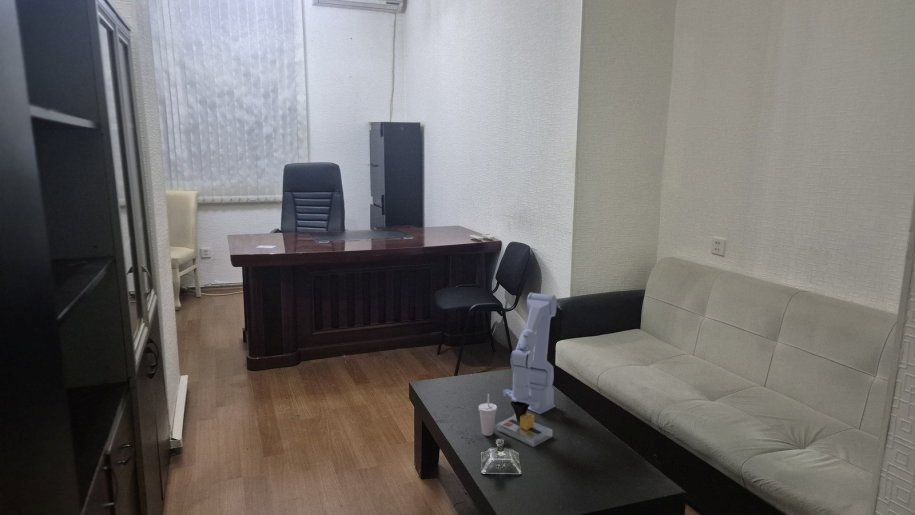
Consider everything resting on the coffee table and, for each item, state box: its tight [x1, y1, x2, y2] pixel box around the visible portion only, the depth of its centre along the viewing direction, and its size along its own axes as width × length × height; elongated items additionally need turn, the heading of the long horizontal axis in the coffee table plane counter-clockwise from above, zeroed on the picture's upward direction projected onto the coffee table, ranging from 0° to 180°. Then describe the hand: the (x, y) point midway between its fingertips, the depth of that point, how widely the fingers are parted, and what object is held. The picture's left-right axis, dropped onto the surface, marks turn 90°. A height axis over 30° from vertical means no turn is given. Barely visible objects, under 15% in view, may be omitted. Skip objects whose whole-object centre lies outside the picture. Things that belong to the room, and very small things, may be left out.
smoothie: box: [478, 393, 498, 437], centre depth 203 cm, size 6×6×14 cm
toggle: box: [520, 412, 535, 430], centre depth 202 cm, size 4×3×4 cm
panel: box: [497, 414, 553, 448], centre depth 204 cm, size 10×16×3 cm, turn 44°
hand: (520, 420), depth 205 cm, fingers closed
